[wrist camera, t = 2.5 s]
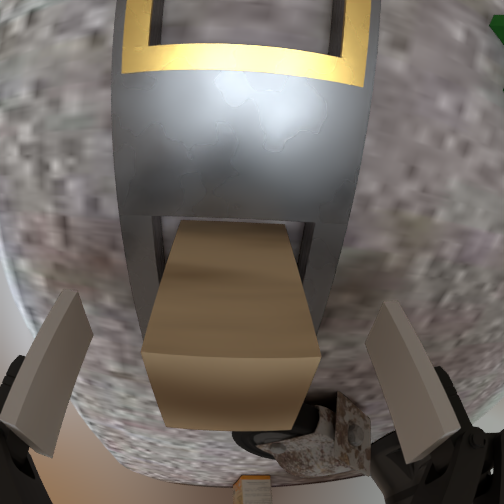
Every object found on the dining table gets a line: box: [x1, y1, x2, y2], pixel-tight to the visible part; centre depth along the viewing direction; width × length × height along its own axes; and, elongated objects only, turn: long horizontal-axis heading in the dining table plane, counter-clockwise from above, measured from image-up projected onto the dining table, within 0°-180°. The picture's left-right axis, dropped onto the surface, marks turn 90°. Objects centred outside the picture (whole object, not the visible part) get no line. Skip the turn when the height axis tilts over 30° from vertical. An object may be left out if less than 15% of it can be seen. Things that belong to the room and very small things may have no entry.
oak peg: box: [141, 220, 321, 431], centre depth 13 cm, size 5×5×8 cm
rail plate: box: [111, 0, 381, 341], centre depth 11 cm, size 26×10×2 cm, turn 176°
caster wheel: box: [232, 391, 371, 478], centre depth 23 cm, size 7×11×10 cm
